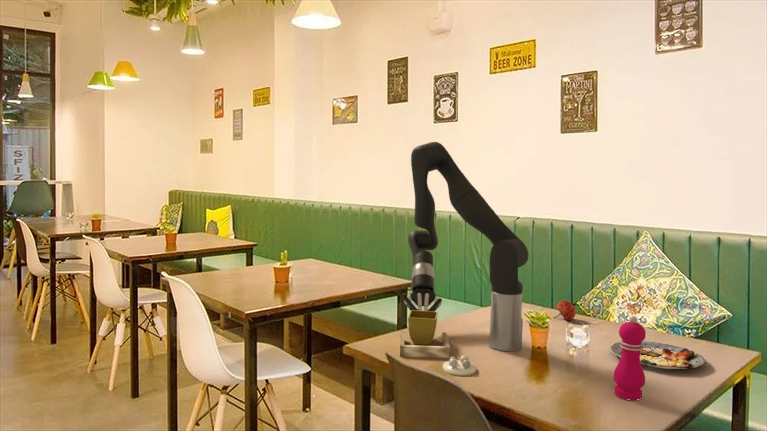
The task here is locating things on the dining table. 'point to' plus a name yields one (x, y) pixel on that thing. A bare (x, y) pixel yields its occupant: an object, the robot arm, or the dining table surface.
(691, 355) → the food plate
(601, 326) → the dining table surface
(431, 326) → the flower pot
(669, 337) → the dining table surface
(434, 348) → the beech tray
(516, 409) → the dining table surface
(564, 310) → the pomegranate
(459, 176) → the robot arm
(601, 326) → the dining table surface
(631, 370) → the pepper mill
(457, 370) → the pebble dish
